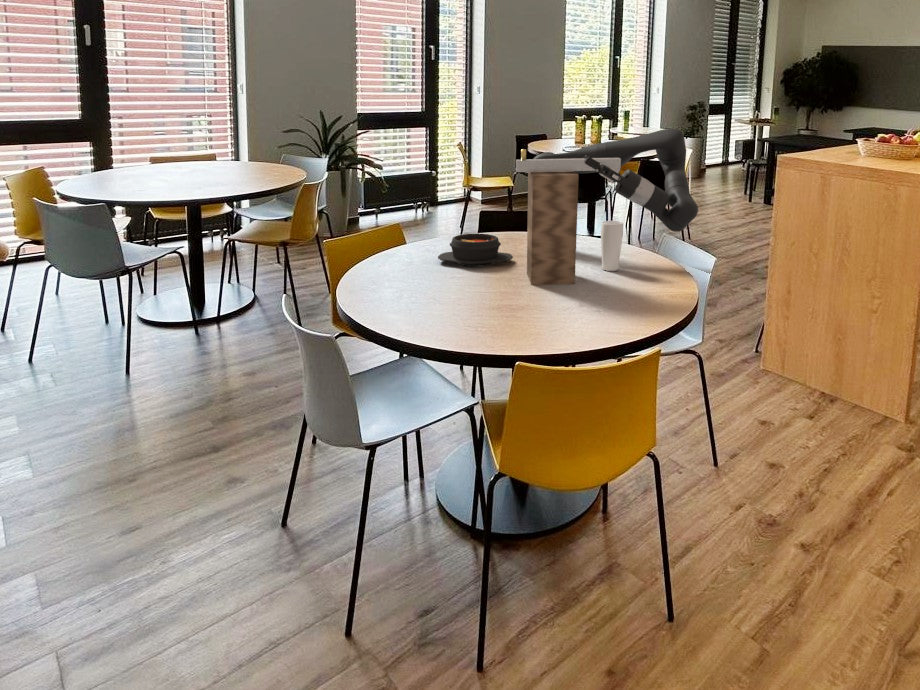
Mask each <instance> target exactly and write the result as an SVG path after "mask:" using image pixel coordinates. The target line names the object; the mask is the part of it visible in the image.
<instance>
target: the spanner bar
mask: <svg viewBox="0 0 920 690" xmlns="http://www.w3.org/2000/svg"><path fill="white" fill-rule="evenodd" d="M586 159H587V158H575V159H534V158H532V159H530V158H529V159H527V149H524V148H522V149H521V150H520V159H515V171H516V173H528V172H549V171H596V169H594V168H592V167H590V166H588V165H587V164H585V161H586ZM592 159H594V160H596V161H597V162H599V164H600V163H602V164H603V165H606V166H607V165H608V166H610V167H612V168H613V169H617V170H619V171H621V167H622V166H621V159H620V158H592ZM611 170H612V169H611Z"/></svg>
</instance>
